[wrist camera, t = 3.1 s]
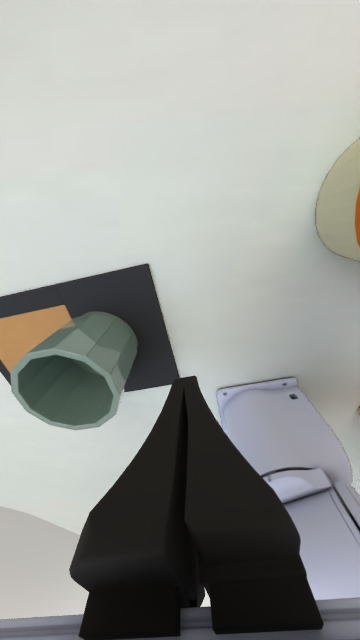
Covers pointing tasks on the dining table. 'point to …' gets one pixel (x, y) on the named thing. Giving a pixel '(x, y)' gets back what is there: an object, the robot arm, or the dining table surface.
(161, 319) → the black and orange board
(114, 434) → the dining table surface
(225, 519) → the robot arm
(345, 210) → the reusable coffee cup
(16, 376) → the tumbler
